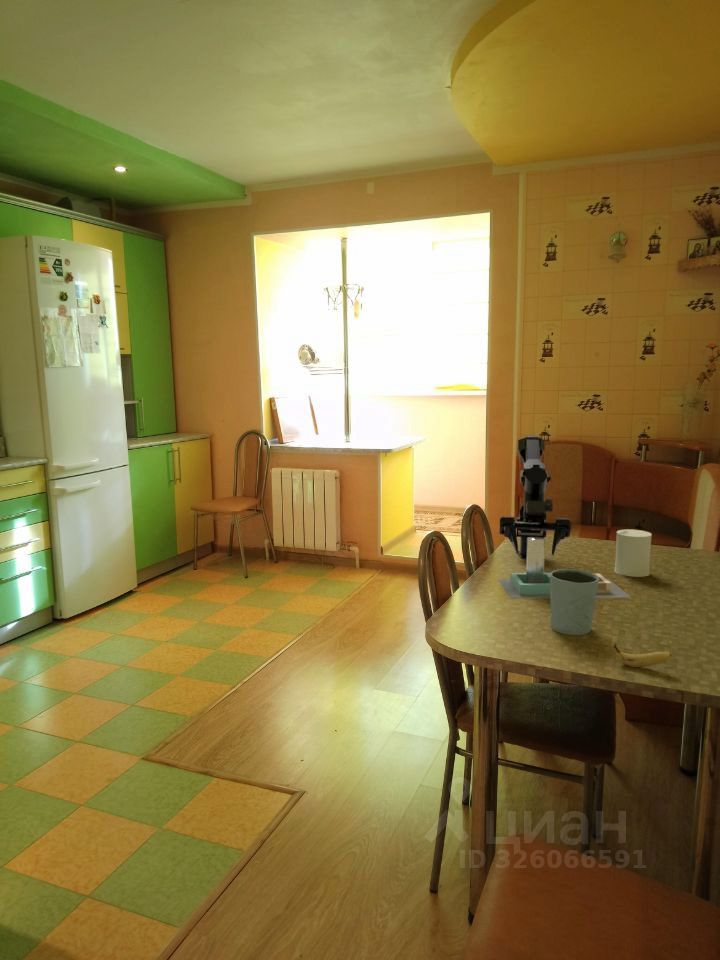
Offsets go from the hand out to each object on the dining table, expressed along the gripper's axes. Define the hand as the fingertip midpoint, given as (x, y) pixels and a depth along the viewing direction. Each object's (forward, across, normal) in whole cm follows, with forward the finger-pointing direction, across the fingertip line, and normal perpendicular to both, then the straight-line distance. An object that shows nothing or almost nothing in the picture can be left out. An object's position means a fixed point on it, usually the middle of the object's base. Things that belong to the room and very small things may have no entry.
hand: (534, 553), depth 176 cm
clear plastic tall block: (+9, 0, +2) cm, 9 cm away
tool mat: (+8, +7, +3) cm, 11 cm away
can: (-5, +27, +17) cm, 33 cm away
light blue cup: (+28, +7, -16) cm, 33 cm away
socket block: (+7, +14, +4) cm, 16 cm away
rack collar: (+9, 0, +2) cm, 9 cm away
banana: (+41, +17, -29) cm, 53 cm away
